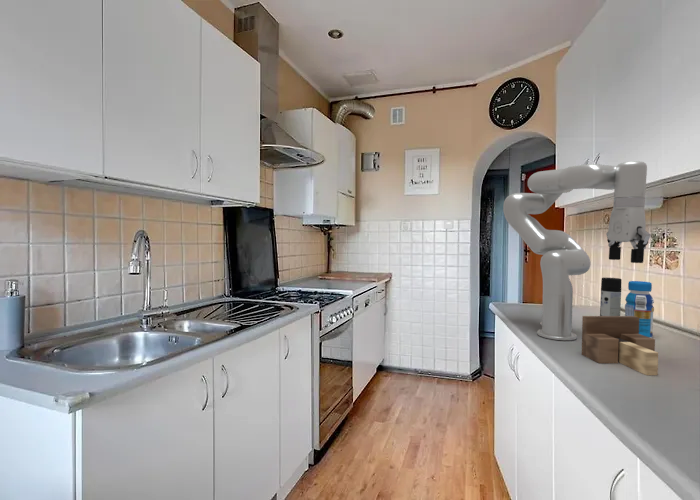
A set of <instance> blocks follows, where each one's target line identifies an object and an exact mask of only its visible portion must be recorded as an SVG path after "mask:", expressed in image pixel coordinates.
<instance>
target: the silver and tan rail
mask: <svg viewBox="0 0 700 500" xmlns="http://www.w3.org/2000/svg"><path fill="white" fill-rule="evenodd" d="M617 339H619V345H618V364H620V365H624V366H626V367H628V368H629V369H632V370H635V371H636V372H638V373H640V374H642V375H644V376H658V373H659V372H658V370H659V352H658V351H656V350H655V351H652V350H650V349H647V348H644V347H642V346H639V345H636V344H634V343H631V342H629V341H626V340H623V339H621V338H617Z"/></svg>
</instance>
